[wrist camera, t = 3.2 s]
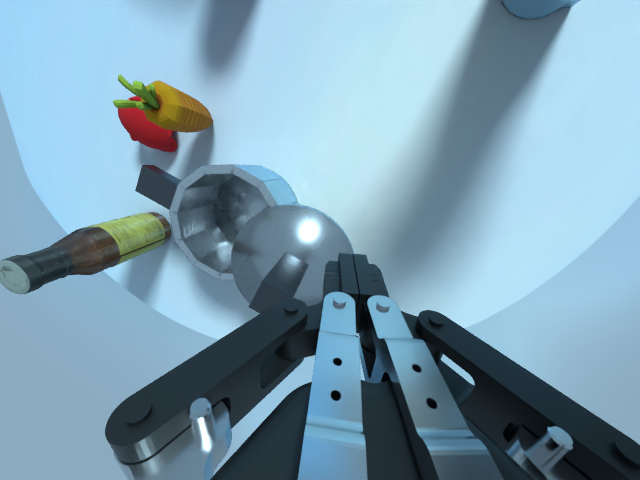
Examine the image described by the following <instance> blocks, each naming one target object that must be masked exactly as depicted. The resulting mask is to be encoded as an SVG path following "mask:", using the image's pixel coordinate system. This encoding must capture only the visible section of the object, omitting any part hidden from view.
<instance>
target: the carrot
mask: <svg viewBox="0 0 640 480" xmlns="http://www.w3.org/2000/svg"><path fill="white" fill-rule="evenodd" d="M118 81H119V82H120V83H121V84H122V85H123V86H124V87H125V88H127V89H128V90H129V91H131V92H132V93H133V94H135V95H136V96H138V97H141V101H140V102H139V101H130V100H114V101H113V103H114V105H115V106H116V107H117V108H138V109H140V110H143V111H144V113H145V115H146V117H147V120H149V121H150V122H152V123H154V124H156V125H158V126H160V127H162V128H164V129H167V130H173V131H179V132H198V131H202V130H204V129H206V128H208V127H211V125H212V124H213V120H212V117H211V115H210V112H209V111H208V109H207V108H206V107H205V106H204V105H202V104H201V103H200V102H199V101H197V100H196V99H194V98H192V97H191V96H189V95H187V94H185V93H183V92H181V91H179V90H177V89H175V88H174V87H171V86H169V85H167V84H165V83H163V82H161V81H155V82H153V83H151V84H149V85H147V86H144V84H143V83H141V82H139V81H134V82H133V86H132V85H131V84H130V83H128V82H127V81H126V80H125V79H124V78H123V77H122V76H121V75H119V76H118Z"/></svg>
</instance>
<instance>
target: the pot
mask: <svg viewBox="0 0 640 480" xmlns="http://www.w3.org/2000/svg"><path fill="white" fill-rule="evenodd" d="M135 191H137V192H138V193H140V194H142V195H144V196H146V197H148V198H149V199H151V200H153V201H155V202H157V203H158V204H160V205H162V206H164V207H166V208H167V209H169V211H170V212H169V213H170V218H171V223H172V228H173V233H174V238H175V242H176V243H177V244H178V246H179V247H180V248H181V250H182V251H183V252H184V254H185V255H186V256H187V258H188V259H189V260H190V262H191V263H192V265H194V266H195V267H197V268H199V269H200V270H202V271H204V272H206V273H208V274H210V275H211V276H213V277H215V278H217V279H220V280H235V279H234V276H233V272H232V267H231V252H232V247H233V244H234V241H235V238H236V236H237V234H238V232H239V231H240V229H241V228H242V227H243V225H244V224H245V223H246V222H247V221H248V220H249V219H250V218H252V217H253V216H254V215H256V214H258V213H260V212H261V211H263V210H266V209H268V208H271V207H273V206H278V205H284V204H298V201H297V198H296V196H295V194H294V192H293V190H292V188H291V187H290V186H289V184H288V183H287V182H286V181H285V180H284V179H283V178H282V177H281V176H279V175H278V174H276V173H275V172H273V171H271V170H269V169H266V168H264V167H262V166H258V165H205V166H201V167H199V168H198V169H197V170H195V171H194V172H193V173H191V174H190V175H189V176H187V177H186V178H185V179H183V180H182V181H181V180H179V179H177V178H176V177H174V176H172V175H170V174H168V173H167V172H165V171H163V170H161V169H159V168H158V167H156V166H154V165H142V168H141V172H140V176H139V179H138V183H137V186H136V190H135Z"/></svg>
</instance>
